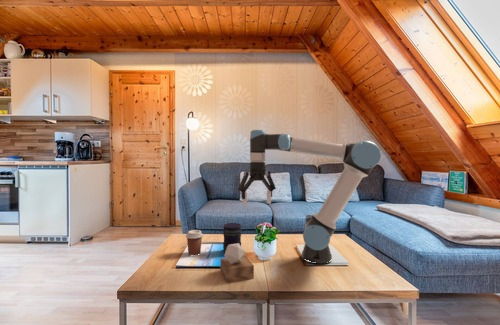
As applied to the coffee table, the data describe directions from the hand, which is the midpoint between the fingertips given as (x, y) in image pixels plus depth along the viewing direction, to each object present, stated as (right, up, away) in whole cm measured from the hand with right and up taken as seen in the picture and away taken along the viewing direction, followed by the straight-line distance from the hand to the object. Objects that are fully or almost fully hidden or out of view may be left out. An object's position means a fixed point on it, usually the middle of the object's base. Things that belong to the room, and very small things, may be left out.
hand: (257, 204), depth 132 cm
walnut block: (-9, -29, -13) cm, 33 cm away
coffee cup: (-33, -28, +11) cm, 45 cm away
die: (-10, -24, -13) cm, 29 cm away
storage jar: (-13, -29, +14) cm, 34 cm away
